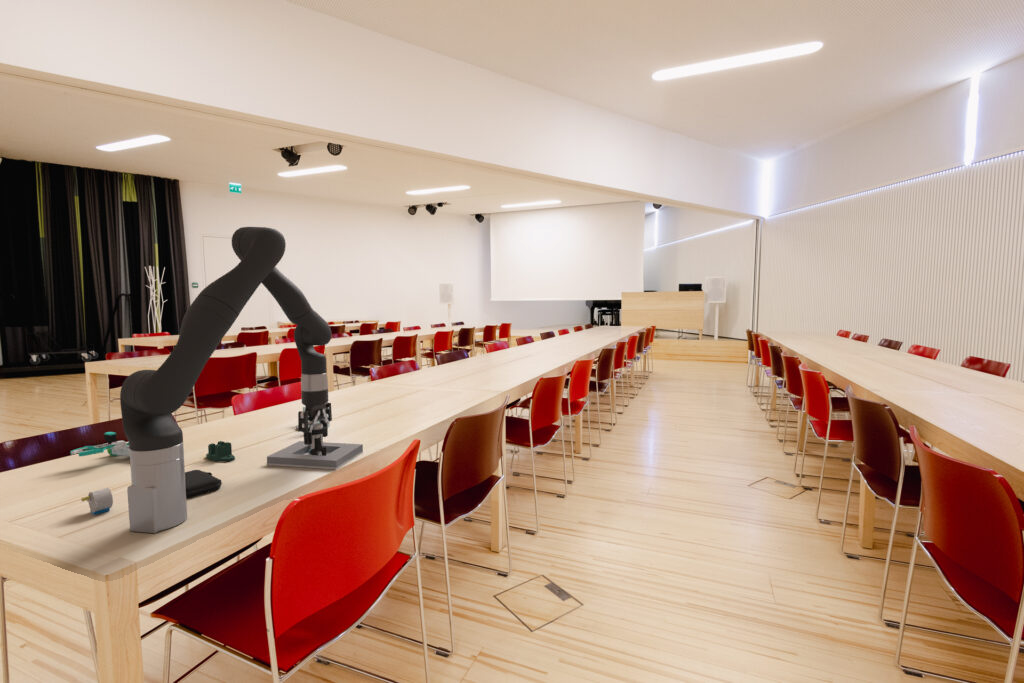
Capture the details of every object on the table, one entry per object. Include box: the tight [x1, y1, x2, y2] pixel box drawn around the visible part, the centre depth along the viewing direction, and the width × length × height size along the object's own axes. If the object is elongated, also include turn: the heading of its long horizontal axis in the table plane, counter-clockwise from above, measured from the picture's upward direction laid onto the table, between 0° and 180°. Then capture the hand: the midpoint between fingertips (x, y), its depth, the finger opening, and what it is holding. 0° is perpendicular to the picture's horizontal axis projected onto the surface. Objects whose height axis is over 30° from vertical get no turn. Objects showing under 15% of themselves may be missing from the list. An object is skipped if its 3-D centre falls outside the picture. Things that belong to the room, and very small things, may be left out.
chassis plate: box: [266, 440, 364, 470], centre depth 146 cm, size 16×22×2 cm
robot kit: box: [69, 431, 130, 458], centre depth 145 cm, size 19×25×9 cm
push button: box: [308, 423, 326, 456], centre depth 145 cm, size 7×5×10 cm
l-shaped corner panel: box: [295, 405, 331, 430], centre depth 180 cm, size 12×12×8 cm
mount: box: [205, 440, 236, 463], centre depth 145 cm, size 11×4×5 cm, turn 67°
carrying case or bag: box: [185, 469, 223, 499], centre depth 123 cm, size 11×3×15 cm
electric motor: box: [80, 487, 114, 516], centre depth 108 cm, size 7×5×5 cm
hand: (316, 440), depth 145 cm, fingers open, 8 cm apart
